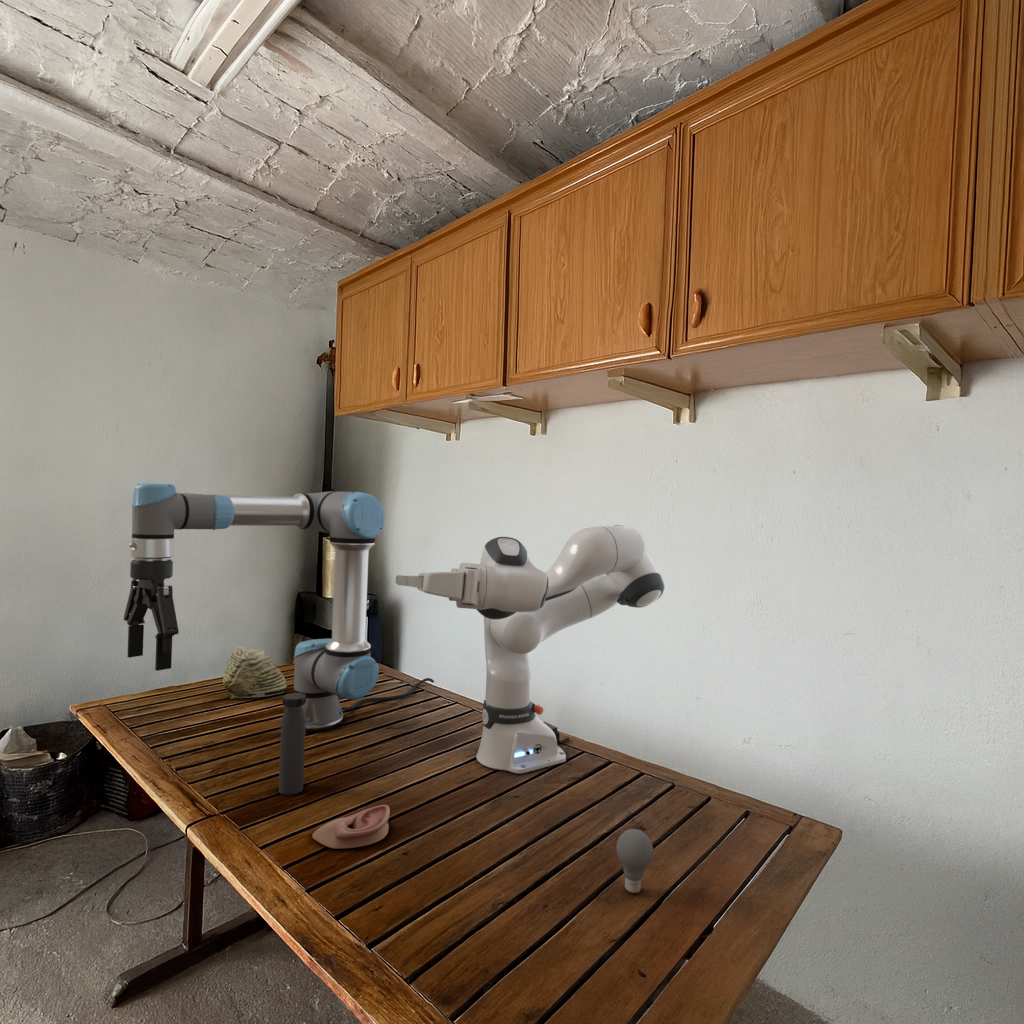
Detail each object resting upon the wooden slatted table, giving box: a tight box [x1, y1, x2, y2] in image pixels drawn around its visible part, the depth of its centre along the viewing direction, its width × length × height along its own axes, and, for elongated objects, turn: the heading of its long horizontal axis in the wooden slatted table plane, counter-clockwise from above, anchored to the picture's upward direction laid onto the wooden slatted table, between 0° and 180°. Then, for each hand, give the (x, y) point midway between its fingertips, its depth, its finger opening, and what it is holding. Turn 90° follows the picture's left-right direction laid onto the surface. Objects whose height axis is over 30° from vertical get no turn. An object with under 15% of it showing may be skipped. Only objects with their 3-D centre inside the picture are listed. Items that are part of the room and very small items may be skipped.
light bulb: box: [615, 828, 654, 894], centre depth 106 cm, size 6×6×10 cm
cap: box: [282, 692, 306, 707], centre depth 136 cm, size 5×5×2 cm
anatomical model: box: [311, 804, 391, 850], centre depth 119 cm, size 13×4×12 cm
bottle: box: [278, 706, 306, 796], centre depth 136 cm, size 5×5×20 cm
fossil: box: [222, 646, 288, 699], centre depth 198 cm, size 9×18×15 cm, turn 132°
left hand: (148, 662), depth 129 cm, fingers open, 13 cm apart
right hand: (396, 579), depth 121 cm, fingers open, 8 cm apart
